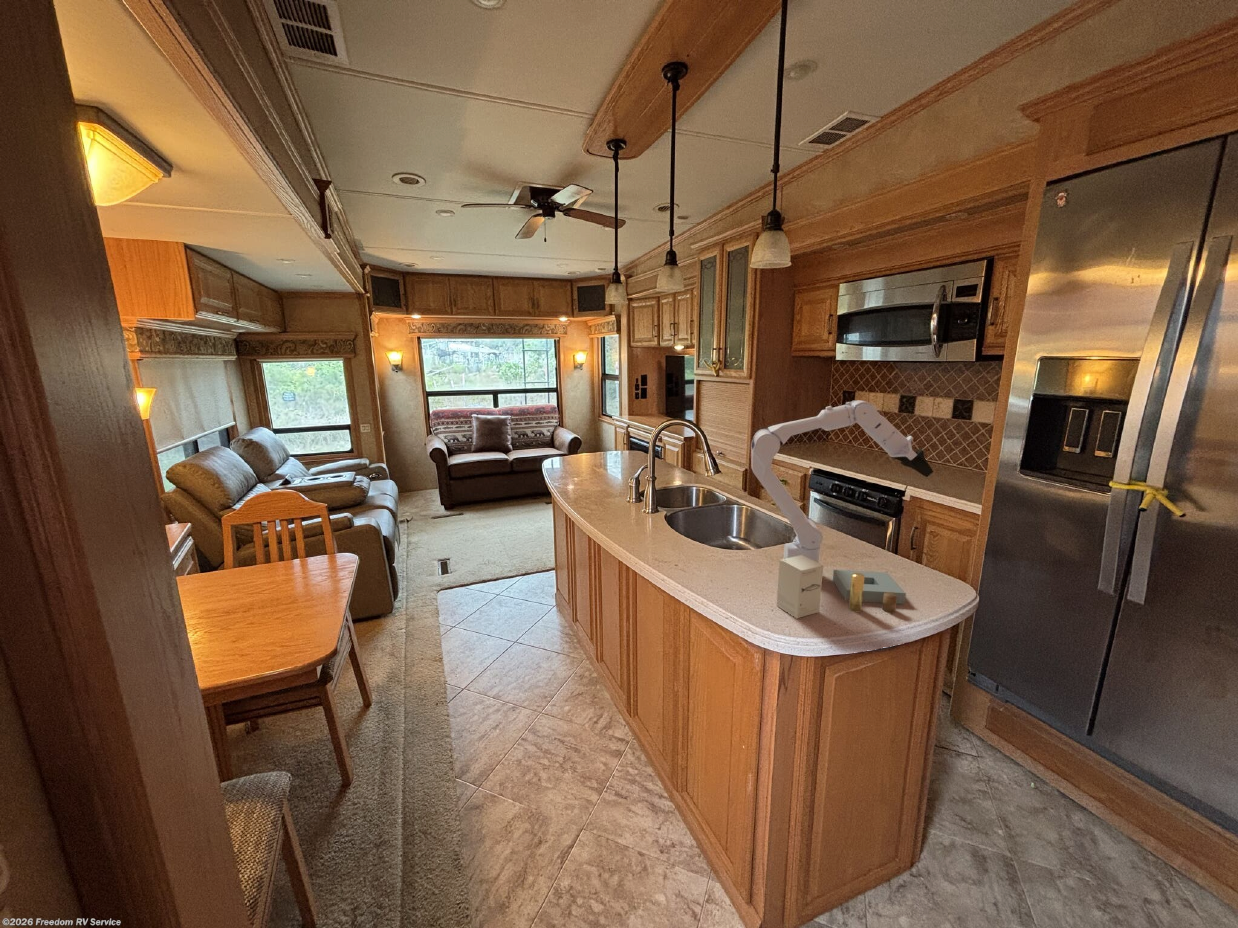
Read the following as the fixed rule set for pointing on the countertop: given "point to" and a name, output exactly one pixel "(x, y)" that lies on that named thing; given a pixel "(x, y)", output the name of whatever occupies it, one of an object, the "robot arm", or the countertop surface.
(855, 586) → the long pin
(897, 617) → the countertop surface
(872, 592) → the hole plate
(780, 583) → the supplement box
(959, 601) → the countertop surface
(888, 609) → the short pin
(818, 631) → the countertop surface
